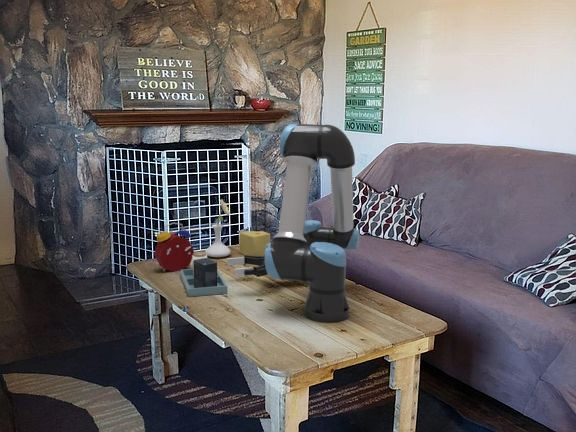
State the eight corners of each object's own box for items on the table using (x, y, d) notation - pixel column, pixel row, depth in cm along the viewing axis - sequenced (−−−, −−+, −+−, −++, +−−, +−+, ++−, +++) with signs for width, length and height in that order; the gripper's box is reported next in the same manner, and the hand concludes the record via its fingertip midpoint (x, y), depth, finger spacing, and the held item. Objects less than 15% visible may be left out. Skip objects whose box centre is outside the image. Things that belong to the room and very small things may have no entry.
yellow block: (257, 250, 271) (257, 228, 268) (271, 255, 263) (271, 233, 260) (238, 253, 264) (238, 232, 262) (252, 259, 256) (252, 236, 254)
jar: (208, 279, 225) (208, 254, 223) (193, 280, 224) (193, 255, 222) (206, 274, 231) (205, 250, 229) (191, 276, 229) (191, 251, 227)
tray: (227, 294, 211) (227, 286, 211) (188, 297, 207) (188, 289, 207) (216, 274, 234) (215, 267, 233) (180, 276, 230) (180, 269, 229)
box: (217, 289, 214) (217, 262, 211) (204, 293, 210) (203, 264, 208) (206, 284, 220) (206, 257, 217) (193, 287, 216) (192, 259, 214)
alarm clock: (188, 265, 244) (187, 219, 240) (197, 271, 237) (196, 223, 233) (154, 271, 236) (152, 223, 232) (162, 277, 229) (160, 227, 225)
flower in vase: (222, 260, 252) (221, 203, 247) (200, 257, 257) (199, 201, 252) (237, 253, 264) (237, 198, 259) (215, 250, 269) (215, 196, 264)
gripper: (296, 282, 211) (238, 287, 205) (276, 263, 234) (224, 267, 228) (296, 262, 209) (238, 267, 203) (277, 245, 233) (224, 248, 226)
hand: (230, 267), depth 216 cm, fingers open, 13 cm apart
